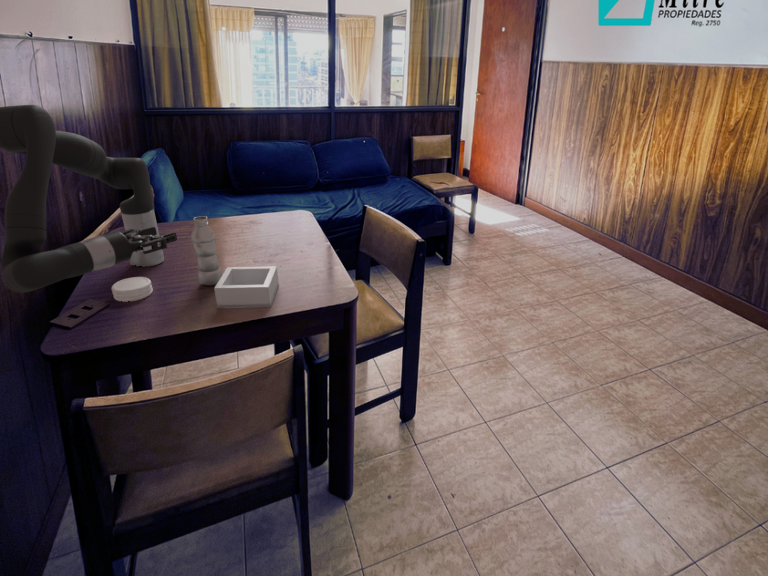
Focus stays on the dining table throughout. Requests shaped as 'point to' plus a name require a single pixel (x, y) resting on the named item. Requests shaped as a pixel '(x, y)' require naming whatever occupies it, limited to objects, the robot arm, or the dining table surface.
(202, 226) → the plastic bottle
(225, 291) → the bin
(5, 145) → the robot arm
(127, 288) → the coaster
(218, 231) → the dining table surface
